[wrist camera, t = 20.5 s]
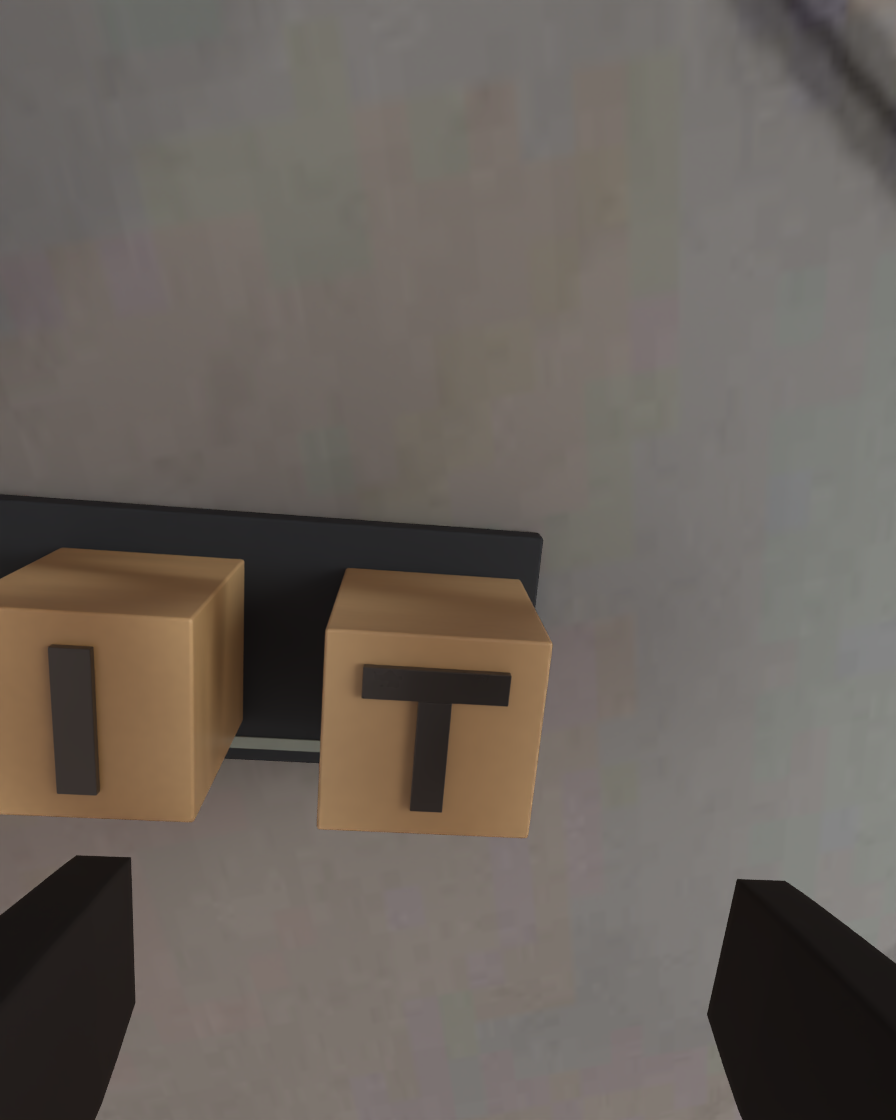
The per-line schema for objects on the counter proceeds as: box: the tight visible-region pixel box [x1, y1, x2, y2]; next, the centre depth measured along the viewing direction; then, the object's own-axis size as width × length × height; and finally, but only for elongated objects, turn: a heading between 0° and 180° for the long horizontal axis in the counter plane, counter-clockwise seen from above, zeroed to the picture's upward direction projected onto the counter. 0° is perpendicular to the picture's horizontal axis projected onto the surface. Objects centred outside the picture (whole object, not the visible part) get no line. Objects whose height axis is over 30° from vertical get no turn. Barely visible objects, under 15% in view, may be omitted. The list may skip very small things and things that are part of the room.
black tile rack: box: [0, 494, 543, 763], centre depth 17 cm, size 17×6×1 cm, turn 85°
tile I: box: [0, 548, 244, 822], centre depth 14 cm, size 4×4×4 cm
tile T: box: [317, 568, 553, 838], centre depth 15 cm, size 4×4×4 cm
